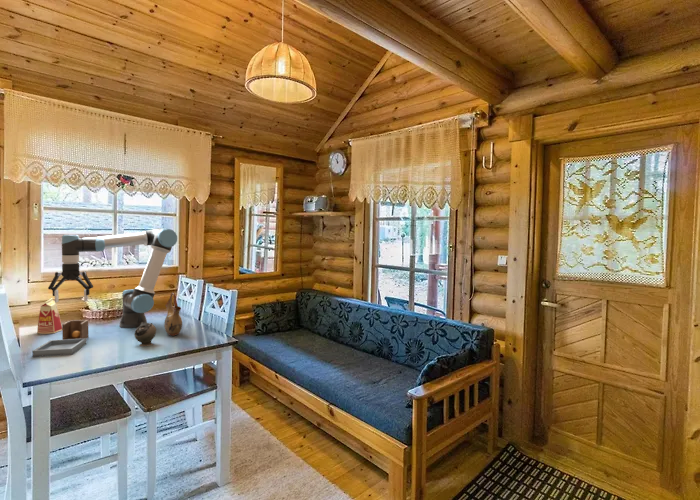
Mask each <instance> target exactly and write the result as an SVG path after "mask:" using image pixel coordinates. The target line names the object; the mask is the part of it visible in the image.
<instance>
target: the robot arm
mask: <svg viewBox="0 0 700 500" xmlns="http://www.w3.org/2000/svg"><path fill="white" fill-rule="evenodd" d="M177 242H178V235H177V233H176V232H175V230H173V229H172V228H168V227H164V228H163V227H158V228H153V229H148V230H143V231H142V232H135V233H124V234H123V233H122V234H114V235H102V236H92V237H91V236H90V237H82V238H81V237H80V235H78V234H63V235H62V236H61V263H62V265H61V272H60V271H55V273H54V277H53V278H52V280H51V282H50V284H49V285H48V288H47V289H48V290H51V291H52V297H54V301H55V303H56V304H57V303H58V302H59V300H60V299H59V289H58V288H60V286H61V285H63V283H64V282H65V281H77V282H78V284H79V285H81V286H82V287H83V288H84V290H83V302H86V303H87V302H88V300H89V299H88V296H89V295H90V289H93V288H94V284H93V283H92V282H91V280H90V278H89V277H88V275H87V271H80V253H83V252H84V253H86V252H87V253H88V252H90V253H91V252H92V253H98V252H103V251H104V250H105V249H114V248H123V247H130V246H131V247H132V246H142V245H144V246H150V247H151V248H152V250H151V252H150V255H149V257H148V261H147V263H146V265H145V268H144V270H143V273H142V276H141V278H140V281H139V284H138V286H136V287H134V289H133V288H132V289H125V290H123V291H122V295H121V296H122V314H121V315H122V316H121V318H120V320H119V327H120V328H123V329H124V328H127V329H129V328H138V327H139V326H140V325H141V322H143V323H148V320H147V317H146V315H145V314H146V313H148V312H149V311H151V310H152V309H153V307H154V304H155V300H154V298H155V294H156V292H155V291H154V290H155V286H156V283H157V280H158V279H159V276H160V273H161V272H162V271H161V270H162V268H163V264H164V262H165V259H166V256H167V255H168V253H169V254H170V252H171V250H172V249H173V247H174V246H175V245H176V244H177ZM80 276H82V277H83V280H82V278H81V277H80ZM59 277H62V278H61V279H60V280H59V281H58V279H59ZM57 281H58V283H57Z"/></svg>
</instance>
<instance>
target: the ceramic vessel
mask: <svg viewBox="0 0 700 500" xmlns="http://www.w3.org/2000/svg"><path fill="white" fill-rule="evenodd" d="M172 300H173V301H174V303H173V302H172ZM172 303H173V304H174V305H173V304H172ZM165 307H166V311H167V314H166V316H165V318H164V323H163V325H164V330H165V332H166V334H168V336H170V335H171V336H172V337H174V336H175V335H176V336H177V335H179V334H180V332H181V331H182V328H183V320H182V317H181V316H180V311H181V310H182V308H181V306H178V300H177V295H176V294H175V292H171V293H170V295H169V298H168V301H167V302H166V304H165ZM171 336H170V337H171ZM176 336H175V337H176Z"/></svg>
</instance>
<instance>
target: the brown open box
mask: <svg viewBox="0 0 700 500" xmlns="http://www.w3.org/2000/svg"><path fill="white" fill-rule="evenodd" d="M61 324H62V333H61V334H62V339H61V340H64V339H83V338H86V340H87V339H88V338H89V319H81V320H80V319H79V320H78V319H77V320H73V319H72V320H68V321H66V322H65V323H61ZM74 331H80V337H78V338H73V337H72V333H73V332H74Z"/></svg>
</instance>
